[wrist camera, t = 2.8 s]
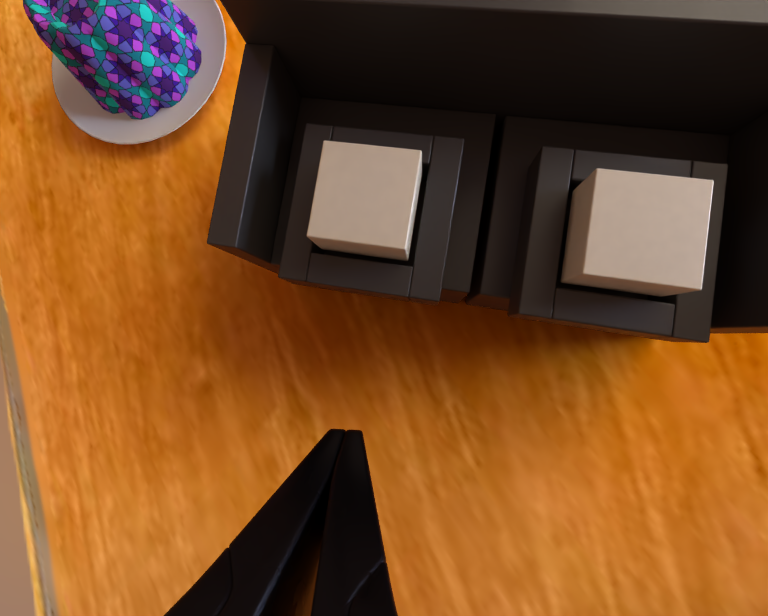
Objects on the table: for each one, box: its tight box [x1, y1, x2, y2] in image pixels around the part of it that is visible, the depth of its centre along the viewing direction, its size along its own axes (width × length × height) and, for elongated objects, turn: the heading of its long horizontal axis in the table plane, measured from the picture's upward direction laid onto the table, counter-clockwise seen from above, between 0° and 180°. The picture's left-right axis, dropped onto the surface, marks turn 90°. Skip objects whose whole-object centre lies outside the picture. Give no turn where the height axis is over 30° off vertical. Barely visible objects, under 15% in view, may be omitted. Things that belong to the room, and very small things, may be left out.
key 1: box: [561, 168, 714, 297], centre depth 13 cm, size 4×4×2 cm
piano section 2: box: [271, 97, 496, 306], centre depth 18 cm, size 9×9×7 cm
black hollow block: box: [207, 0, 768, 333], centre depth 16 cm, size 9×21×10 cm, turn 81°
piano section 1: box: [466, 116, 730, 343], centre depth 17 cm, size 9×9×7 cm
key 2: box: [307, 141, 422, 261], centre depth 14 cm, size 4×4×2 cm
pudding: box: [23, 0, 226, 144], centre depth 21 cm, size 12×12×5 cm
